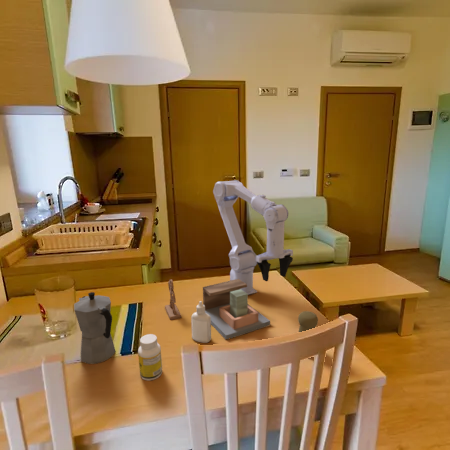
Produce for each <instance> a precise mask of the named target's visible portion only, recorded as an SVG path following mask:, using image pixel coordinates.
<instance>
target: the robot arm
mask: <svg viewBox="0 0 450 450" xmlns="http://www.w3.org/2000/svg"><path fill="white" fill-rule="evenodd" d="M212 193H213V196H214V200H215V201H216V204H217V207H218V210H219V213H220V217H221V219H222V221H223V226H224V228H225V230H226V233H227V236H228V237H227V238H228V240H229V242H230V245H231V249H230V251H229V253H228V257H229V265H230V268H231V270H230V272H229V281H231V280H235V279H240V280H241V281H243V282H244V283H246V284H247V287H245V288H241V290H243V291H244V292H246V293H247V294H248V296H249V295H253V294H255V293H256V294H257V293H258V291H257V289H255V288H254V287H253V286H254V284H253V283H254V269H255V267H256V266H257V265H258V267H259V270H260V273H261V277H262V280H263V281H265V282H269V278H270V277H269V276H270V275H269V274H270V269H271V265H272V263H269V261H271V260H274V259H275V260H276V259H278V261H279V275H280V276H282V277H284V278H286V275H287V274H288V273H287V272H288V269H289V267H290V265H291V263H292V262H293V260H294V259H293V258H294V257H293V255H294V250H293V249H290V248H289V249H287V248H286V249H284V245H285V221H286V220H288V218H289V210H288V208H287V207H286V206H285V204H281V203H280V204H276V202H275V201H272V200H270V199H268V198H267V197H266V195H265V194H257V195H256V194H255V193H253V192H252V191H250V189H248V188H247V187H245V186H244V184H243V183H242V181H241V182H240V181H239V180H237V179H234V180H229V181H228V180H225V181H217V182H215V183H214V187H213V190H212ZM239 198H240V199H242V200H243V201H245V202H247V203H249V204H250V207H251V208H252V210H254V211H255V212H257V213H258V214H259V215H262V216H263V219H264V221H265V227H266V251H265V252H263V253H261V254H258V255H257V254H256V253H255V252H254V250H253V248H252V247H253V246H250V245H249V244H247V243H246V241H245V238H244V235H243V231H242V229H241V227H240V224H239V221H238V218H237V215H236V213H235V210H234V207H233V206H234V204H235V203H236V202H237V200H238V199H239Z"/></svg>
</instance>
